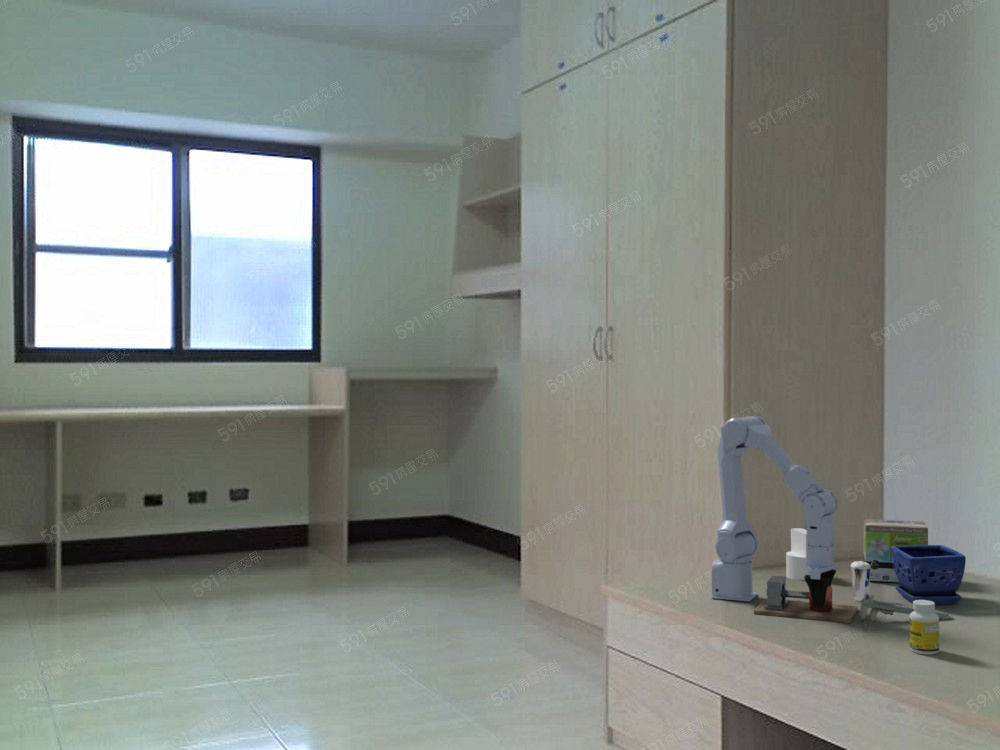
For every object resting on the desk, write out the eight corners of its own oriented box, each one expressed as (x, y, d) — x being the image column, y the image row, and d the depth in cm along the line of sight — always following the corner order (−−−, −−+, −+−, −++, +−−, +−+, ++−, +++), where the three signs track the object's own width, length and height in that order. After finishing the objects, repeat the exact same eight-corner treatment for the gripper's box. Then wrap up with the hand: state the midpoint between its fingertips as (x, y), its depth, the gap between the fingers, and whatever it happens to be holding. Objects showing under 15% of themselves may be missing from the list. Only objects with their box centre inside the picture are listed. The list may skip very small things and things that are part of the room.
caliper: (862, 623, 225) (862, 594, 224) (860, 621, 226) (860, 593, 226) (954, 620, 225) (954, 591, 225) (952, 619, 226) (951, 590, 226)
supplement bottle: (904, 648, 205) (904, 599, 205) (930, 646, 205) (930, 598, 205) (918, 656, 199) (917, 606, 199) (944, 654, 200) (944, 604, 200)
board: (753, 613, 233) (753, 610, 233) (764, 601, 244) (764, 598, 244) (850, 622, 224) (850, 619, 224) (857, 609, 235) (857, 606, 235)
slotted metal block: (764, 609, 234) (764, 582, 234) (771, 600, 241) (771, 574, 241) (782, 610, 232) (781, 583, 232) (789, 602, 239) (788, 576, 239)
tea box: (865, 582, 261) (864, 524, 261) (863, 573, 271) (862, 518, 270) (928, 585, 257) (928, 526, 256) (924, 576, 266) (924, 519, 266)
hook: (765, 606, 235) (764, 581, 235) (769, 601, 240) (769, 577, 240) (830, 612, 229) (830, 587, 229) (834, 606, 233) (833, 582, 233)
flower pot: (969, 606, 235) (968, 555, 235) (911, 608, 235) (910, 556, 235) (943, 592, 249) (943, 544, 248) (889, 594, 248) (888, 545, 248)
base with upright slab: (780, 574, 273) (779, 529, 272) (811, 571, 274) (811, 527, 274) (796, 581, 264) (795, 535, 263) (828, 579, 265) (827, 533, 265)
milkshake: (876, 602, 241) (875, 560, 241) (852, 601, 242) (851, 559, 242) (873, 597, 245) (872, 556, 245) (849, 597, 246) (849, 555, 246)
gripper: (833, 551, 224) (834, 613, 224) (843, 540, 237) (843, 598, 237) (800, 549, 227) (801, 610, 227) (811, 538, 240) (812, 595, 240)
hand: (820, 604), depth 232 cm, fingers closed on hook, 5 cm apart
